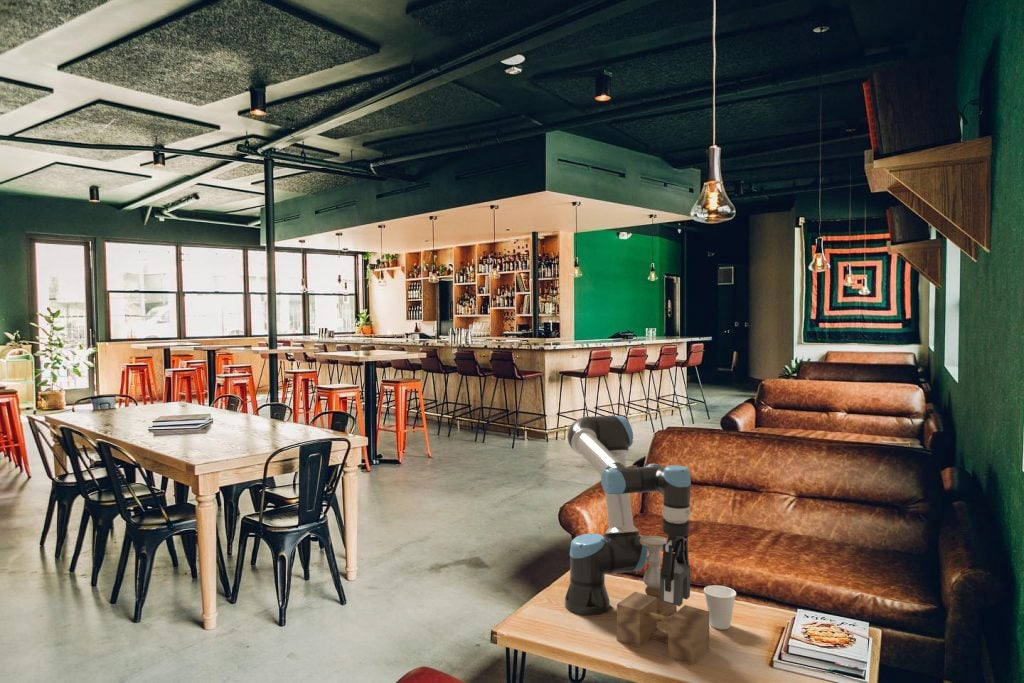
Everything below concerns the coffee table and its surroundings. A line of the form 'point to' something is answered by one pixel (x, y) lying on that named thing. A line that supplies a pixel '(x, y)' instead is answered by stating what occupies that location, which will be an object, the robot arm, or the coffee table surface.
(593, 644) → the coffee table surface
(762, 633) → the coffee table surface
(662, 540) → the candle holder
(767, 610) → the coffee table surface
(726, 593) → the cup
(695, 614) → the wooden block dumbbell
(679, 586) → the slotted gray cube
